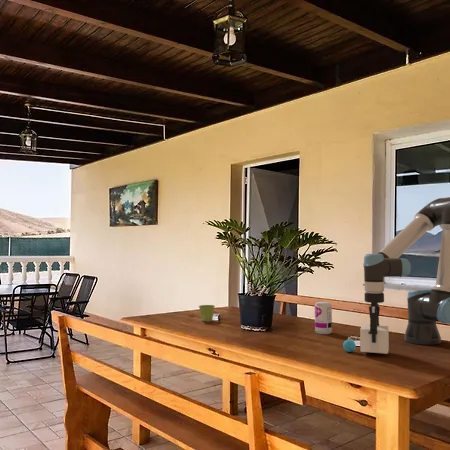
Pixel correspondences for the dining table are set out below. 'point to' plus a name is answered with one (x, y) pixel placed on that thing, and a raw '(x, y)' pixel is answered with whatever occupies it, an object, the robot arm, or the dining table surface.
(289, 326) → the dining table surface
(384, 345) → the off-white square block
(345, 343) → the ball
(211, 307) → the plant pot
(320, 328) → the supplement can
